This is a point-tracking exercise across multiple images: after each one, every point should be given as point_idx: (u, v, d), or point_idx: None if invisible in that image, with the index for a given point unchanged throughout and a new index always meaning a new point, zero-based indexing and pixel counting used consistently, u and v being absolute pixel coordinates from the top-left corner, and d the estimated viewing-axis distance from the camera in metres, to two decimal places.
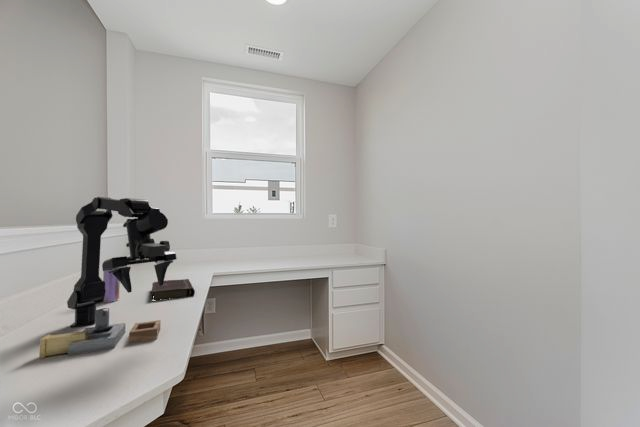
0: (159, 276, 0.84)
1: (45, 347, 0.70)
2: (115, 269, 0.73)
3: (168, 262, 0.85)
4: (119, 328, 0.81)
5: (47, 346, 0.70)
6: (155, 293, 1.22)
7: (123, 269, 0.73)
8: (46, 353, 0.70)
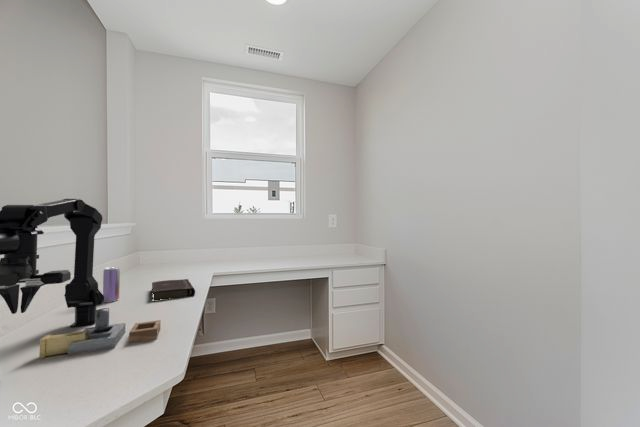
0: None
1: (45, 347, 0.70)
2: None
3: (26, 288, 0.68)
4: (119, 328, 0.81)
5: (47, 346, 0.70)
6: (155, 293, 1.22)
7: None
8: (46, 353, 0.70)
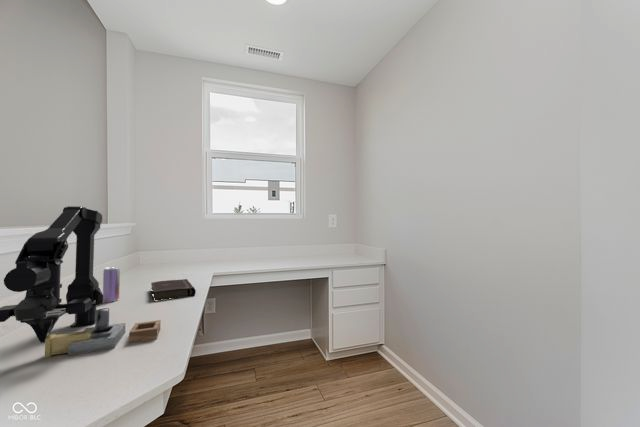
0: None
1: (50, 346, 0.70)
2: None
3: (47, 319, 0.69)
4: (119, 328, 0.81)
5: (52, 345, 0.71)
6: (156, 293, 1.22)
7: (25, 322, 0.68)
8: (51, 352, 0.71)
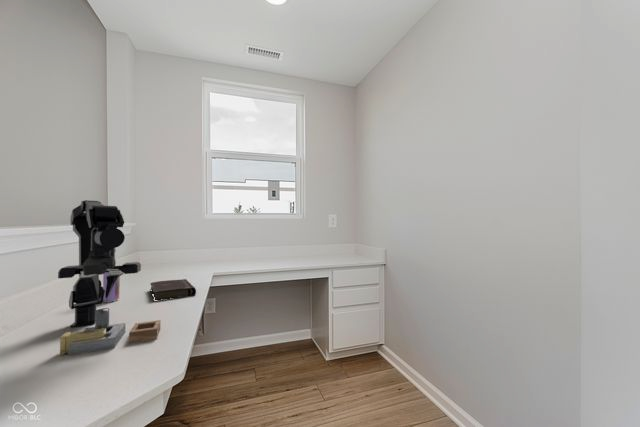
0: None
1: (65, 344, 0.72)
2: None
3: (111, 277, 0.79)
4: (119, 328, 0.81)
5: (67, 343, 0.72)
6: (157, 293, 1.22)
7: (84, 279, 0.77)
8: (66, 350, 0.72)
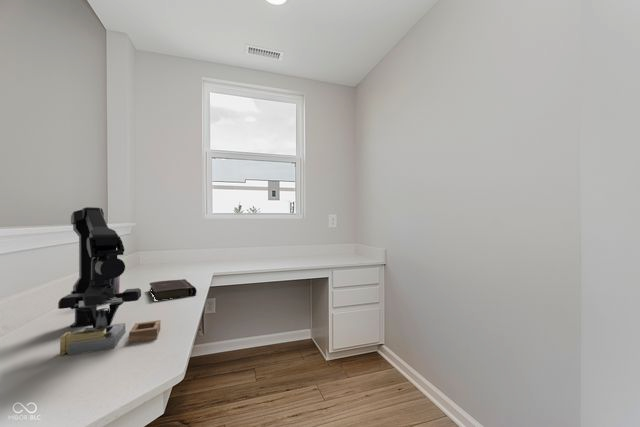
0: None
1: (65, 344, 0.72)
2: None
3: (113, 305, 0.80)
4: (119, 328, 0.81)
5: (67, 343, 0.72)
6: (157, 293, 1.22)
7: (82, 309, 0.77)
8: (66, 350, 0.72)
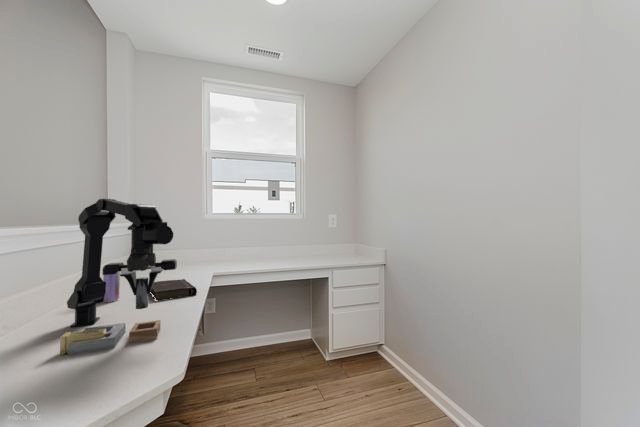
0: None
1: (65, 344, 0.72)
2: None
3: (153, 273, 0.82)
4: (119, 328, 0.81)
5: (67, 343, 0.72)
6: (158, 293, 1.22)
7: (124, 276, 0.79)
8: (66, 350, 0.72)
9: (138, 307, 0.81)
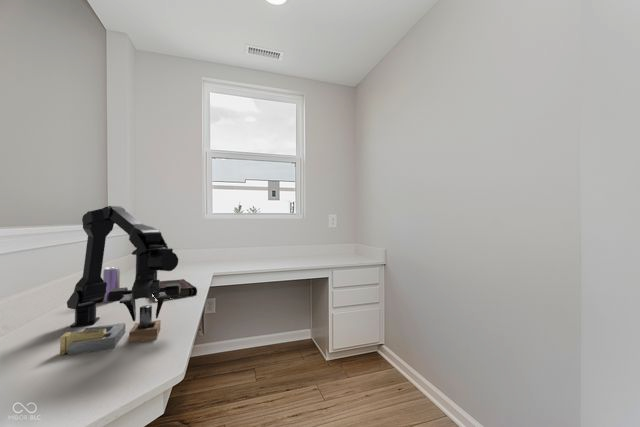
0: (157, 308, 0.85)
1: (65, 344, 0.72)
2: None
3: (161, 298, 0.83)
4: (119, 328, 0.81)
5: (67, 343, 0.72)
6: (158, 293, 1.22)
7: (123, 303, 0.79)
8: (66, 350, 0.72)
9: None
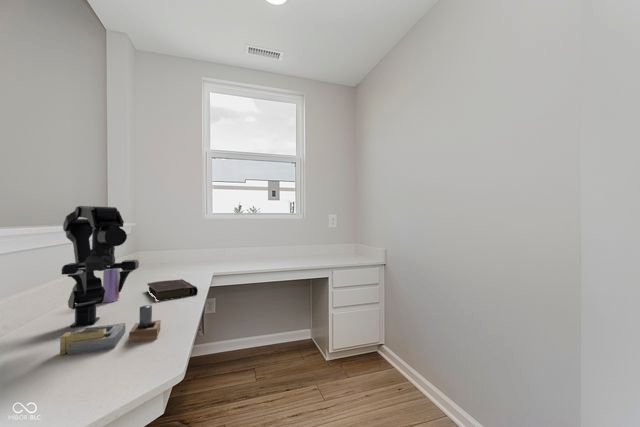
0: None
1: (65, 344, 0.72)
2: None
3: (123, 272, 0.87)
4: (119, 328, 0.81)
5: (67, 343, 0.72)
6: (159, 293, 1.22)
7: (71, 276, 0.81)
8: (66, 350, 0.72)
9: None
